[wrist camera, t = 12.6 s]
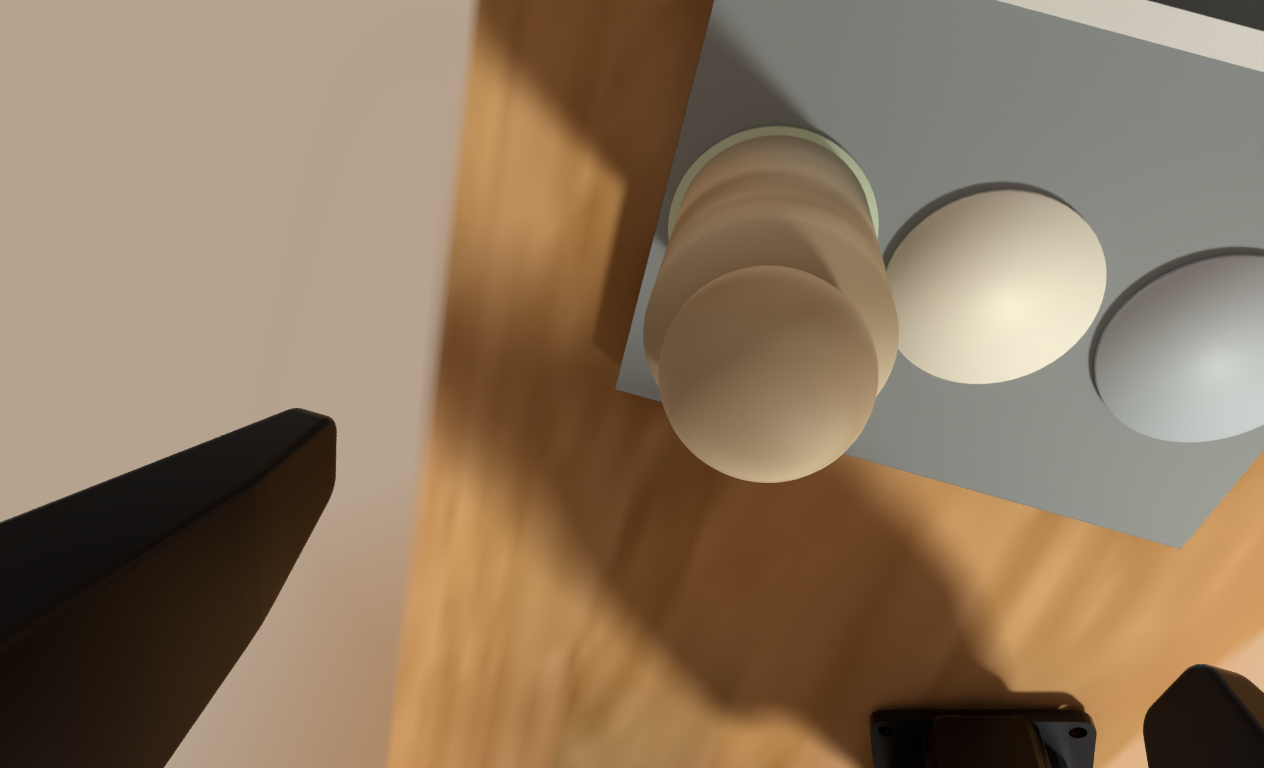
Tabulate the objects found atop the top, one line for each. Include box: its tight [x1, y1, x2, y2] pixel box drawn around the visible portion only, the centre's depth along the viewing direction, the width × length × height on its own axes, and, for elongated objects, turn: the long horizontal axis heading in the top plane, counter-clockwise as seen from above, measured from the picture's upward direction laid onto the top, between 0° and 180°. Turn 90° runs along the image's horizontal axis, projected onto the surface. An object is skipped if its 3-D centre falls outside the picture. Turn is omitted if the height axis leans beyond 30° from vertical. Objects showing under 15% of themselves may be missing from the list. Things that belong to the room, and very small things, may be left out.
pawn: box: [643, 135, 899, 483], centre depth 14 cm, size 4×4×8 cm
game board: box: [615, 0, 1264, 549], centre depth 14 cm, size 18×14×4 cm
